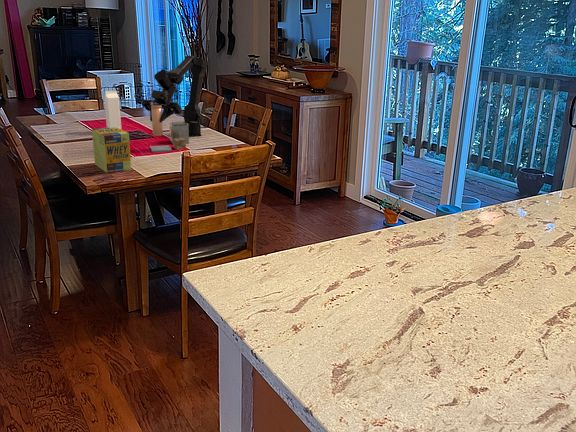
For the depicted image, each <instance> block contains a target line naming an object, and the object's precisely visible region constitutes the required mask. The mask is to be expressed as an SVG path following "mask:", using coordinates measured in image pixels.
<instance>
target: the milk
mask: <svg viewBox="0 0 576 432" xmlns="http://www.w3.org/2000/svg"><path fill="white" fill-rule="evenodd" d="M103 99H104V100H103V101H104V109H105V111H104V112H105V120H106V122H105V123H106V128H109V127H117V128H119V129H121V130H122V121H121V119H122V118H121V109H120V107H121V106H120V96H119V95H118V91H117V90H116V89H115V90H105V94H104V95H103Z"/></svg>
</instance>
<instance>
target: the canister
mask: <svg viewBox="0 0 576 432" xmlns="http://www.w3.org/2000/svg"><path fill="white" fill-rule="evenodd" d="M161 107H162V105H151V112H152V121H151V124H152V136H155V137H160V136H163V135H164V130H163V121H162V122H160V118H161V115H162V113H163V111H162V110H163V109H162V108H161Z"/></svg>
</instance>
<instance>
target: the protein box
mask: <svg viewBox="0 0 576 432" xmlns="http://www.w3.org/2000/svg"><path fill="white" fill-rule="evenodd" d="M91 135H92V146H93V157H94V165H95V166H96V167H98V168H99V169H101V170H102V171H103V172H104V173H106V174H110V173H116V172H126V171H131V170H132V161H131V160H132V159H131V158H132V157H131V148H130V145H131V144H130V133H129V132H127V131H125V130H124V129H122V128H121V129H119V128H117V127H109V128H107V127H98V128H97V127H96V128H91Z"/></svg>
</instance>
